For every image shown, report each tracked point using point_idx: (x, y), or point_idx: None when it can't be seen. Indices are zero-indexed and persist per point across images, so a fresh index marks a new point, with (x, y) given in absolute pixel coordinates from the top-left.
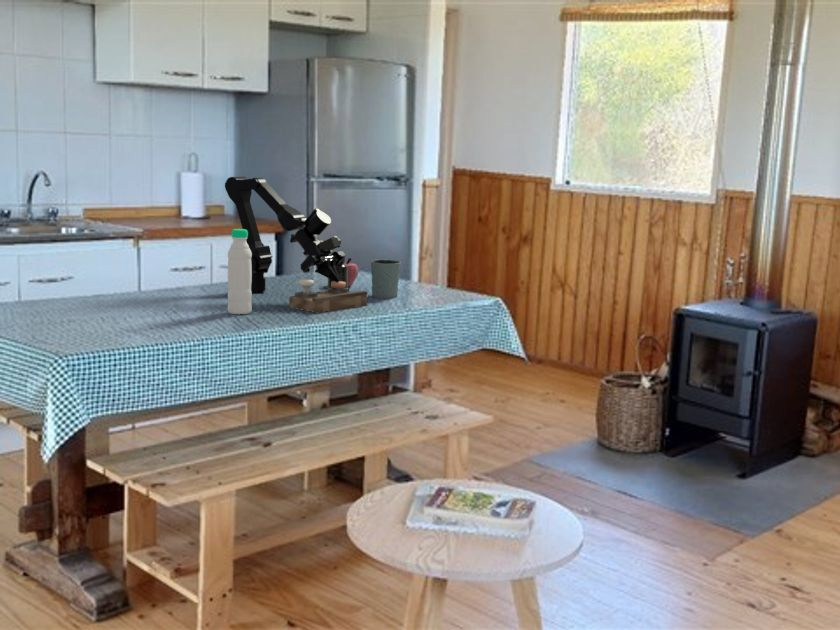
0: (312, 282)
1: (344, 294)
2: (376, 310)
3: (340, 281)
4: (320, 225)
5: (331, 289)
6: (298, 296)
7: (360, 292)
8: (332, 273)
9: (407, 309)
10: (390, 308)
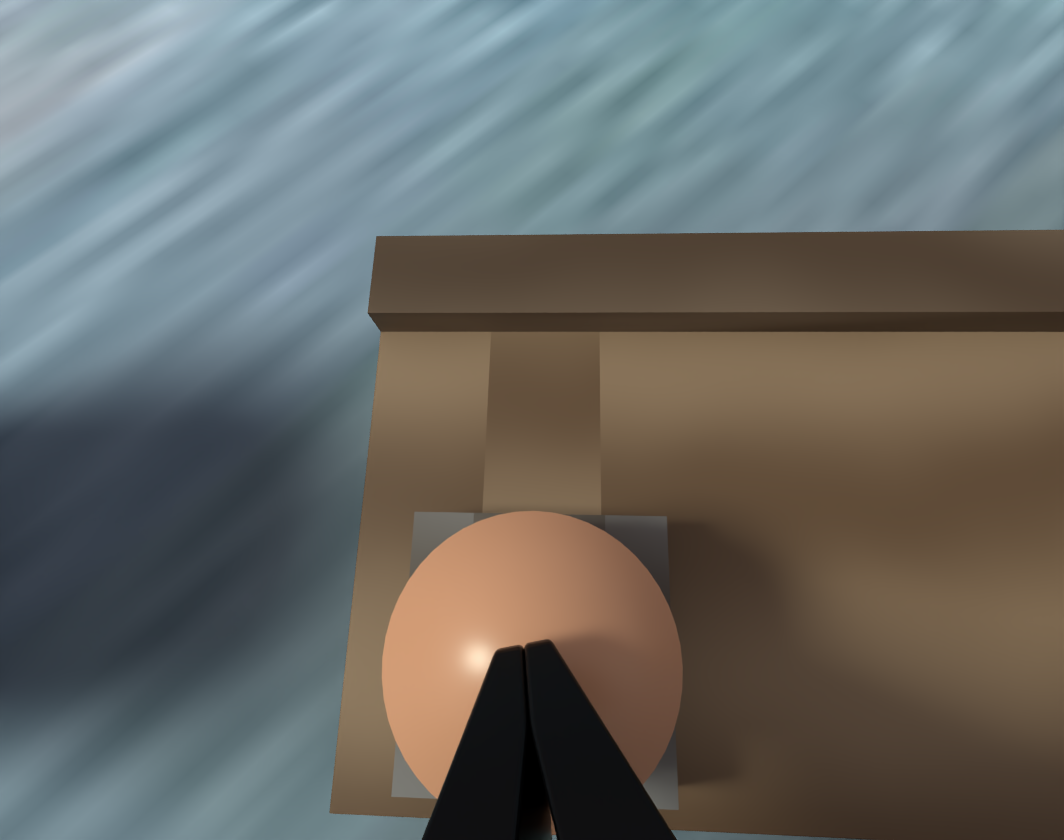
0: None
1: (808, 243)
2: (554, 112)
3: (413, 715)
4: None
5: None
6: None
7: (505, 236)
8: (665, 835)
9: (320, 11)
10: (384, 106)
